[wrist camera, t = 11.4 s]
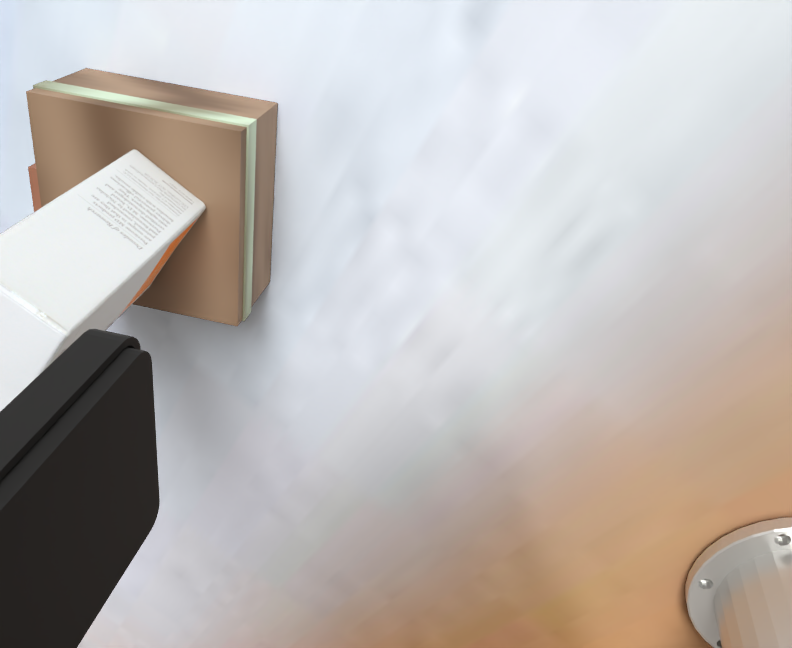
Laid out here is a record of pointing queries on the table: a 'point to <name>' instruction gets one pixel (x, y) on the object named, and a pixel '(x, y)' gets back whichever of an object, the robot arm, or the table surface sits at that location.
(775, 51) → the table surface
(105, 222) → the skincare box
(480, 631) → the table surface
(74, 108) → the gift box
